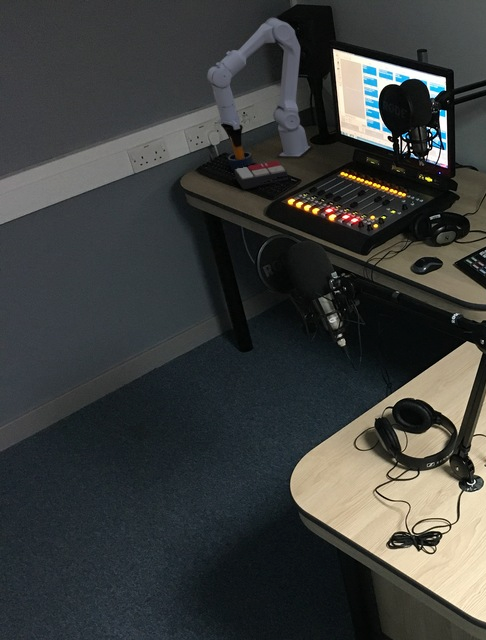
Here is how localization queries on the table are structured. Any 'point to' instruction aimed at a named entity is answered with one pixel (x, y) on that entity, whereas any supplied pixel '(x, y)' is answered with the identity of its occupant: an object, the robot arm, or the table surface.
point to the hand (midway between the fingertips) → (236, 145)
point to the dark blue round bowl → (240, 160)
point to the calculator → (259, 174)
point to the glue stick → (238, 151)
